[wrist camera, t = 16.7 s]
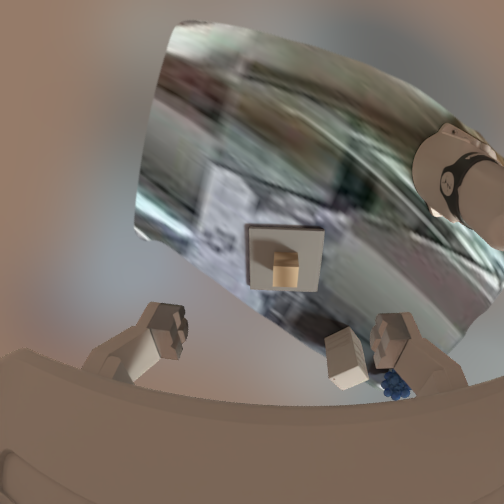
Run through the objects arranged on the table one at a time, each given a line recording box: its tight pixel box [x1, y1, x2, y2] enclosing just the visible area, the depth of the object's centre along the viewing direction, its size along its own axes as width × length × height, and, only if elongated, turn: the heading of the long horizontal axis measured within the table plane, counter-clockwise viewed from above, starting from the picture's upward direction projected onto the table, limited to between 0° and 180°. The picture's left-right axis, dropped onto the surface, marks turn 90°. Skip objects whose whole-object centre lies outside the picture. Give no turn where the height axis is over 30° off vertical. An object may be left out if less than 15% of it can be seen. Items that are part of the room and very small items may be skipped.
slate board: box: [249, 226, 325, 292], centre depth 55 cm, size 14×14×1 cm
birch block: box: [273, 252, 299, 288], centre depth 52 cm, size 4×4×5 cm
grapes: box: [381, 368, 412, 401], centre depth 65 cm, size 12×7×12 cm, turn 142°
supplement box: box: [324, 327, 369, 390], centre depth 60 cm, size 7×7×13 cm
